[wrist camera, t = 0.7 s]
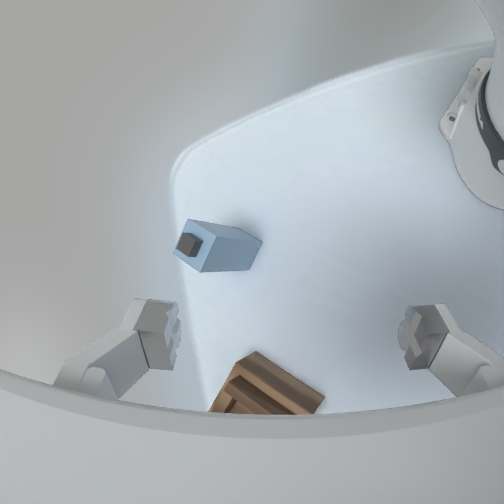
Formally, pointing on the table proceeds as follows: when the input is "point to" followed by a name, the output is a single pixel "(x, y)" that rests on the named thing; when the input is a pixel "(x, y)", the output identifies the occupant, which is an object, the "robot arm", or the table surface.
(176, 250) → the plug block
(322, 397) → the socket block
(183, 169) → the table surface
